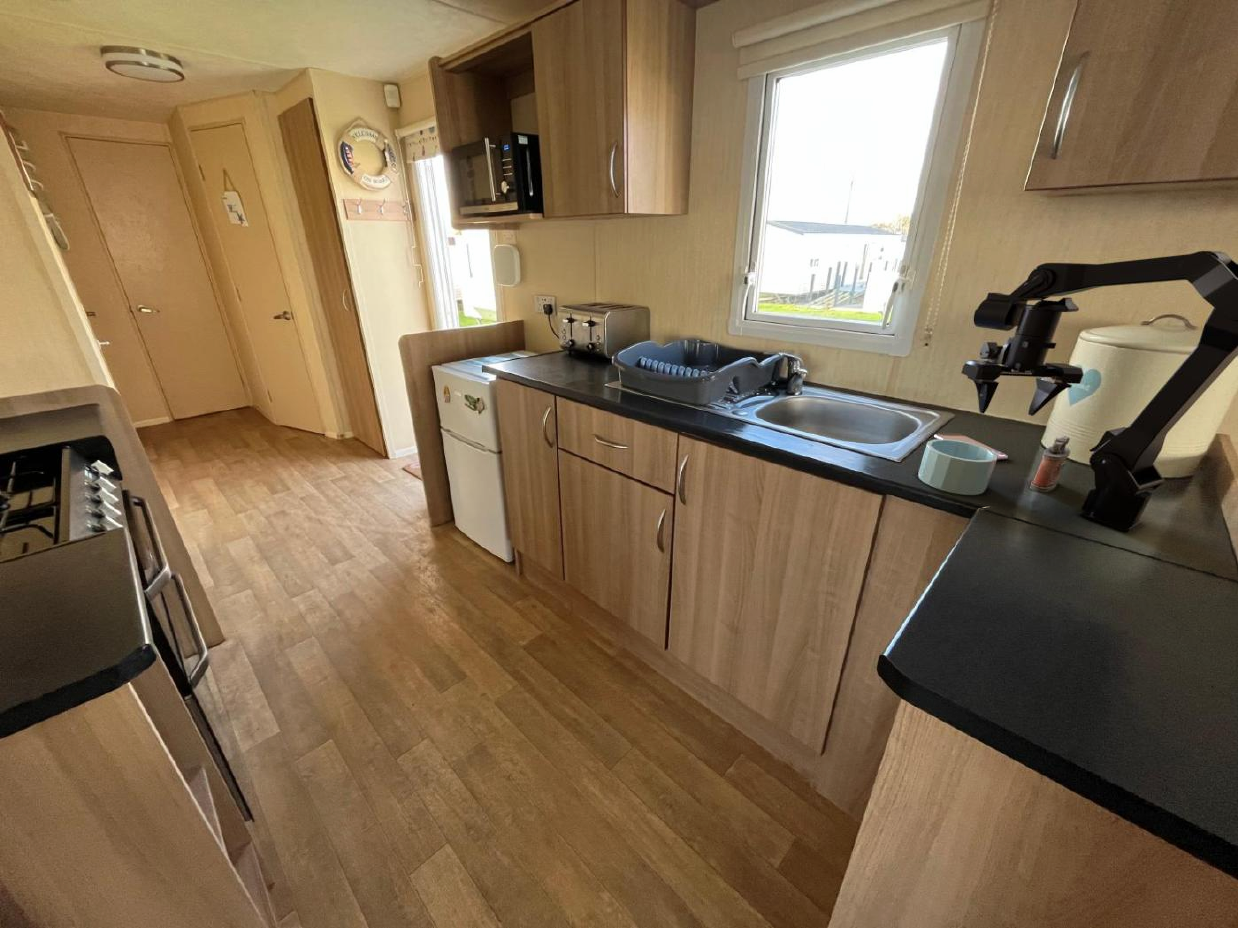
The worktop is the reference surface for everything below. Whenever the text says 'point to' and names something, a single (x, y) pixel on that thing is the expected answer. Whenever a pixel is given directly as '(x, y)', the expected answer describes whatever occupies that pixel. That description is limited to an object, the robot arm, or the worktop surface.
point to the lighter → (1051, 465)
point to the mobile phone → (966, 439)
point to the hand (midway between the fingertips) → (1006, 414)
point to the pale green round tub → (957, 466)
